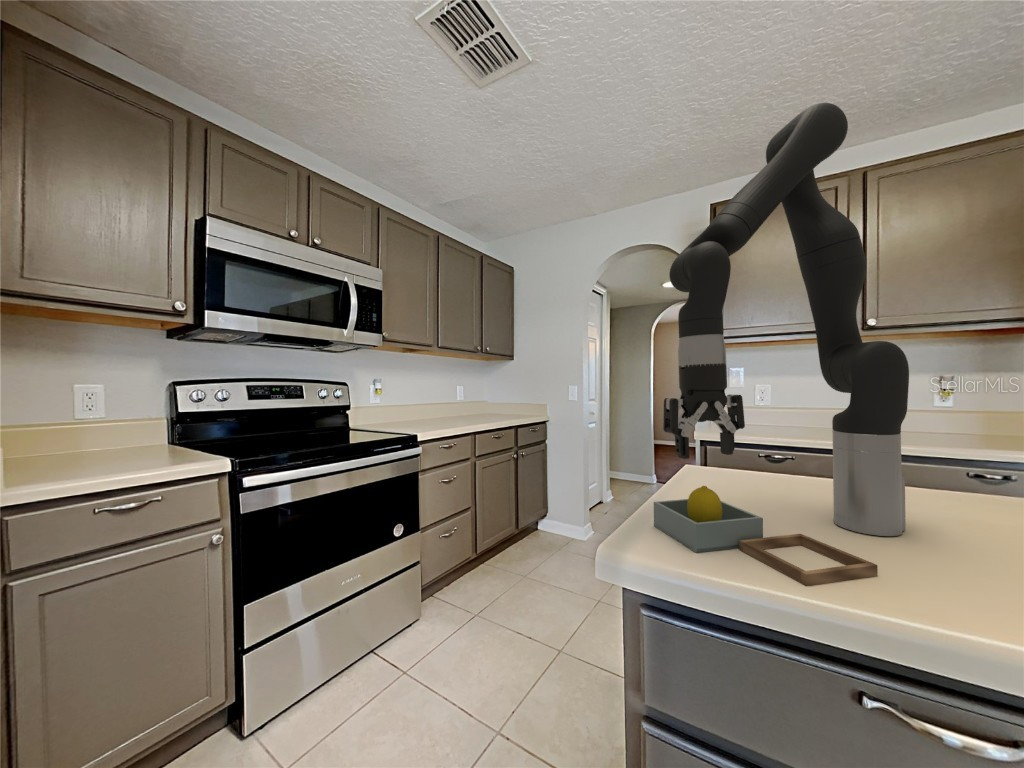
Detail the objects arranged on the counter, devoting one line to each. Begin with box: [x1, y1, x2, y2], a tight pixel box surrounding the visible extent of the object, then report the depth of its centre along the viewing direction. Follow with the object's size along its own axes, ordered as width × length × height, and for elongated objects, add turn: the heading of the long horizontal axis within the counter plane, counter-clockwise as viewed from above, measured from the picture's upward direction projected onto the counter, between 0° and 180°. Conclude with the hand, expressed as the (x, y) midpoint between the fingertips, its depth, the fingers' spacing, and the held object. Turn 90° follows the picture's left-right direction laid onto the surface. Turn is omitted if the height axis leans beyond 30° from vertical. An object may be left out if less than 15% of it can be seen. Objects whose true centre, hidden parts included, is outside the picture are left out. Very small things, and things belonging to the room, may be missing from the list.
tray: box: [738, 533, 878, 587], centre depth 59 cm, size 12×12×2 cm
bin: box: [653, 498, 764, 554], centre depth 70 cm, size 12×12×4 cm
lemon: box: [687, 485, 722, 523], centre depth 70 cm, size 6×6×8 cm
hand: (705, 456), depth 70 cm, fingers open, 8 cm apart
